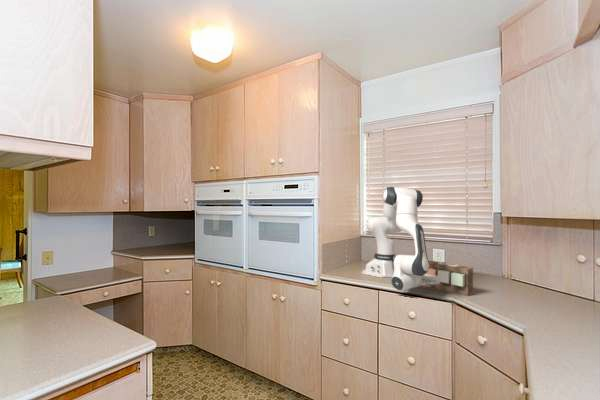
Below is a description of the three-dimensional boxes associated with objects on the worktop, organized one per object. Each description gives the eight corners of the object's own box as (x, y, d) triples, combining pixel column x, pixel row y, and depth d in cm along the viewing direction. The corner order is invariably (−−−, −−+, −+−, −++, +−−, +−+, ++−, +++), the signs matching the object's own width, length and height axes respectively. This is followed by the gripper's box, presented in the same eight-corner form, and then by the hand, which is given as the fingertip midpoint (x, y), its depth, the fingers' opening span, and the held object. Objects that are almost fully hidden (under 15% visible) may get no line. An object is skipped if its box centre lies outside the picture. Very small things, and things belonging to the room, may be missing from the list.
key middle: (437, 281, 173) (437, 270, 173) (441, 279, 176) (442, 269, 176) (448, 283, 168) (448, 272, 168) (452, 282, 171) (452, 271, 171)
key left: (425, 278, 179) (425, 267, 179) (429, 277, 182) (429, 266, 182) (435, 280, 174) (435, 269, 174) (439, 279, 177) (439, 268, 177)
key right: (451, 284, 167) (451, 273, 167) (455, 282, 170) (455, 271, 170) (462, 286, 162) (462, 275, 162) (466, 285, 165) (466, 274, 165)
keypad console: (425, 285, 182) (425, 260, 181) (430, 283, 185) (430, 259, 185) (467, 296, 163) (467, 268, 162) (472, 293, 166) (473, 266, 166)
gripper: (432, 276, 159) (446, 272, 167) (398, 269, 175) (412, 265, 183) (432, 288, 159) (446, 284, 167) (398, 280, 175) (412, 276, 184)
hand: (428, 274), depth 176 cm, fingers closed
